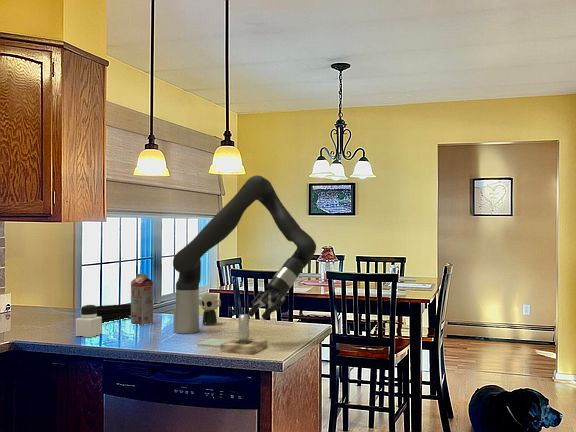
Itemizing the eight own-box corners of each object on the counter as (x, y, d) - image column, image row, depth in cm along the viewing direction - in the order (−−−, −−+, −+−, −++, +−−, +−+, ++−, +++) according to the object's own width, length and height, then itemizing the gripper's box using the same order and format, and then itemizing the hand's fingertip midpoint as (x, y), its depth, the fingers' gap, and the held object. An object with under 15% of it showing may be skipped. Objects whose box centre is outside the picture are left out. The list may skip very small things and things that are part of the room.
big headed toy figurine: (194, 324, 251) (194, 294, 251) (203, 322, 257) (203, 293, 258) (216, 326, 247) (216, 296, 247) (224, 324, 253) (224, 294, 253)
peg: (237, 350, 201) (236, 315, 201) (241, 348, 205) (241, 314, 205) (246, 350, 200) (246, 316, 200) (250, 348, 203) (250, 314, 203)
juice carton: (141, 326, 249) (141, 274, 249) (131, 324, 252) (130, 274, 252) (153, 323, 254) (153, 273, 254) (142, 322, 258) (142, 273, 258)
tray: (108, 326, 250) (108, 314, 250) (64, 323, 257) (64, 311, 257) (147, 315, 278) (147, 304, 278) (106, 313, 286) (106, 302, 286)
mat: (196, 345, 209) (196, 343, 209) (210, 339, 219) (210, 338, 219) (221, 347, 206) (221, 345, 206) (234, 341, 215) (234, 340, 215)
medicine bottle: (102, 334, 230) (102, 304, 230) (90, 338, 223) (90, 307, 223) (87, 333, 232) (87, 303, 233) (75, 337, 226) (75, 306, 226)
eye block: (220, 351, 199) (220, 344, 199) (236, 344, 210) (236, 337, 210) (252, 354, 195) (252, 347, 195) (266, 347, 206) (266, 340, 206)
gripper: (264, 274, 217) (239, 307, 210) (288, 277, 206) (262, 312, 199) (276, 287, 220) (251, 320, 213) (299, 290, 209) (274, 326, 202)
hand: (256, 316), depth 206 cm, fingers open, 8 cm apart
